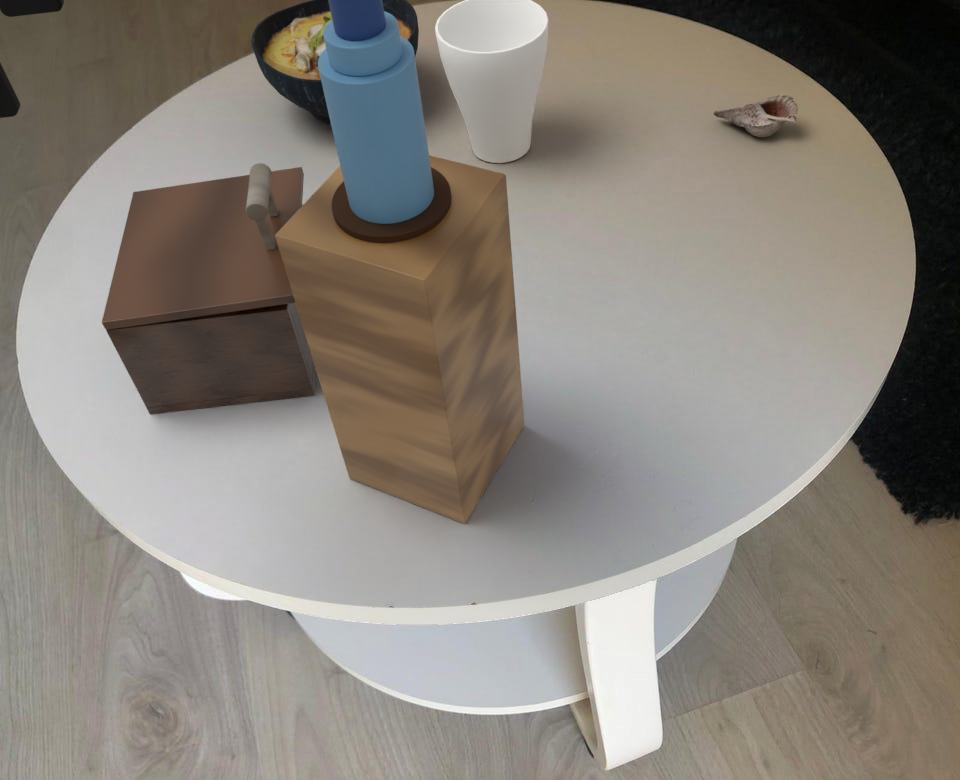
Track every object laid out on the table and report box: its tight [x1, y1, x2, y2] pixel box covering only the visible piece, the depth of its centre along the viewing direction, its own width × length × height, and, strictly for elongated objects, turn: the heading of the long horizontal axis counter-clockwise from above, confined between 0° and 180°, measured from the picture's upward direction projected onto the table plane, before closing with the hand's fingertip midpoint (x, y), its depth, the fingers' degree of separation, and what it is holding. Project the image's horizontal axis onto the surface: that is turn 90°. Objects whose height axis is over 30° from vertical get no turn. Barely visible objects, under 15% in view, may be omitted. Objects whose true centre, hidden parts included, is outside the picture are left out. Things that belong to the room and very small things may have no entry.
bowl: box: [250, 0, 420, 125], centre depth 105 cm, size 17×17×10 cm
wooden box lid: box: [101, 162, 305, 331], centre depth 77 cm, size 14×16×5 cm
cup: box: [434, 0, 550, 164], centre depth 96 cm, size 10×10×14 cm
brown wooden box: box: [105, 204, 316, 415], centre depth 83 cm, size 14×16×10 cm
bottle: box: [318, 0, 434, 224], centre depth 53 cm, size 5×5×13 cm
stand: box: [275, 154, 525, 525], centre depth 67 cm, size 10×10×24 cm
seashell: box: [713, 94, 799, 138], centre depth 98 cm, size 4×8×4 cm
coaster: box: [332, 167, 452, 243], centre depth 58 cm, size 7×7×1 cm
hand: (12, 60), depth 49 cm, fingers open, 9 cm apart
